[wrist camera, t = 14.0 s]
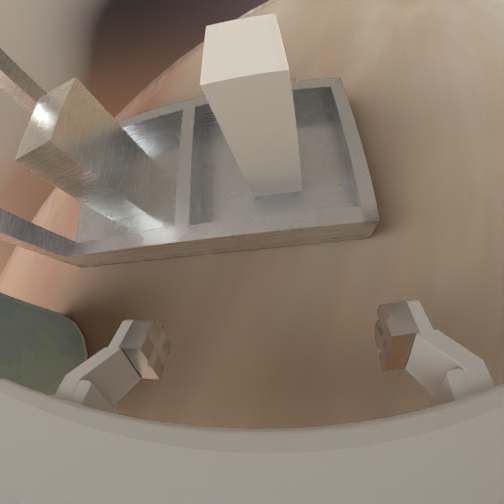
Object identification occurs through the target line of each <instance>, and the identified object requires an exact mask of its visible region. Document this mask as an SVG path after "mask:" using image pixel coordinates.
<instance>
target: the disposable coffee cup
mask: <svg viewBox="0 0 504 504" xmlns="http://www.w3.org/2000/svg"><path fill="white" fill-rule="evenodd" d="M87 357H88V353H87V348H86V343H85V339H84V335H83V334H82V332H81V331H80V329H79V328H78V326H77V324H76V323H75V322H73V321H72V320H71V319H69V318H68V317H66V316H64V315H62V314H60V313H58V312H55V311H51V310H48V309H45V308H42V307H39V306H36V305H33V304H30V303H27V302H24V301H22V300H19V299H16V298H13V297H10V296H8V295H5V294H2V293H0V379H8V380H11V381H13V382H15V383H18V384H20V385H23V386H25V387H28V388H31V389H33V390H36V391H39V392H42V393H45V394H47V395H52V394H54V393H56V392H57V390H58V388H59V386H60V384H61V383H62V381H63V379H64V377H65V375H67V374H68V373H69V372H71V371H72V370H74V369H75V368H76V367H78V366H79V365H81V364H82V363H83V362H85V361H86V360H87Z"/></svg>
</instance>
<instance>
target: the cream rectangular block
mask: <svg viewBox="0 0 504 504" xmlns="http://www.w3.org/2000/svg"><path fill="white" fill-rule="evenodd" d="M200 87H201V89H202V91H203V93H204V95H205V97H206V99H207V101H208V103H209V105H210V107H211V109H212V111H213V113H214V115H215V117H216V119H217V122H218V124H219V126H220V128H221V130H222V132H223V134H224V136H225V138H226V140H227V143H228V145H229V147H230V149H231V151H232V153H233V155H234V157H235V160H236V162H237V164H238V166H239V168H240V170H241V172H242V175H243V177H244V179H245V181H246V183H247V185H248V187H249V190H250V192H251V194H252V196H253V197H256V196H264V195H272V194H281V193H290V192H299V191H303V189H302V177H301V166H300V155H299V145H298V136H297V127H296V118H295V110H294V102H293V94H292V86H291V79H290V72H289V67H288V62H287V58H286V54H285V50H284V46H283V42H282V38H281V34H280V30H279V26H278V22H277V18H276V15H275V13H274V14H267V15H260V16H254V17H248V18H242V19H237V20H232V21H227V22H222V23H218V24H214V25H210V26H206V32H205V41H204V50H203V59H202V69H201V79H200Z"/></svg>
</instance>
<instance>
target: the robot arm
mask: <svg viewBox="0 0 504 504" xmlns="http://www.w3.org/2000/svg"><path fill="white" fill-rule="evenodd" d="M377 315H378V318H379V320H378V321H377V322H376V324H375V339H376V344H377V348H379V349H380V350H381V353H380V360H381V364H382V368H383V371H387V370H394V369H401V368H405V369H406V370H407V371H408V372H409V373H410V374H411V375H412V376H413V377H414V378H415V379H416V380H417V381H418V382H419V383H420V384H421V385H422V386H423V387H424V388H425V389H426V390H427V391H428V392H429V393H430V394H431V395H432V396H433V397H434V398H433V400H432V402H431V404H430V405H429V407H428V408H426V409H422V410H418V411H413V412H409V413H404V414H399V415H394V416H389V417H384V418H378V419H372V420H366V421H359V422H352V423H344V424H335V425H325V426H312V427H296V428H225V427H209V426H197V425H187V424H178V423H170V422H162V421H156V420H149V419H143V418H137V417H132V416H127V415H122V414H119V413H118V412H117V411H116V410H115V409H114V408H113V407H114V406H115V405H116V404H117V403H118V402H119V401H120V400H121V399H122V398H123V397H124V396H125V395H126V394H127V393H128V392H129V391H130V390H131V389H132V388H133V387H134V386H135V385H136V384H137V383H138V382H139V381H140V380H141V378H145V379H160V377H161V374H162V371H163V369H164V365H163V361H164V360H166V359H167V358H168V355H169V352H170V344H169V340H168V338H167V335H165V334H164V333H163V332H161V330H162V328H163V327H162V325H161V324H160V322H159V321H157V320H124V321H123V322H122V323H121V325H120V327H119V329H118V330H117V332H116V334H115V336H114V337H113V339H112V341H111V343H110V344H109V346H108V347H105V348H103V349H102V350H100V351H99V352H97V353H96V354H95V355H93V356H92V357H90V358H89V359H88V360H86V361H85V362H83V363H82V364H81V365H79V366H78V367H76V368H75V369H74V370H72V371H71V372H69V373H68V374H67V375H65V377H64V379H63V381H62V383H61V384H60V386H59V388H58V390H57V392H56V393H55V395H54V397H53V396H50V395H47V394H45V393H42V392H39V391H36V390H33V389H31V388H28V387H25V386H23V385H20V384H18V383H15V382H13V381H11V380H8V379H0V504H504V383H502V384H500V385H498V386H495V385H494V382H493V380H492V378H491V376H490V373H489V371H488V369H487V367H486V365H485V362H484V360H483V359H481V358H480V357H478V356H477V355H475V354H474V353H472V352H471V351H469V350H468V349H466V348H465V347H463V346H462V345H460V344H459V343H457V342H456V341H454V340H453V339H451V338H450V337H448V336H447V335H445V334H444V333H442V332H441V331H439V330H438V329H436V330H434V329H433V327H432V325H431V323H430V321H429V319H428V317H427V315H426V313H425V311H424V309H423V307H422V305H421V303H420V301H419V300H418V299H414V300H409V301H405V302H404V301H403V302H397V303H390V304H383V305H379V306H378V310H377Z"/></svg>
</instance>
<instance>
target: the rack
mask: <svg viewBox="0 0 504 504" xmlns="http://www.w3.org/2000/svg"><path fill="white" fill-rule="evenodd" d="M291 86H292V94H293V102H294V110H295V118H296V127H297V136H298V145H299V155H300V166H301V177H302V189H303V191H299V192H290V193H281V194H272V195H264V196H256V197H253V196H252V194H251V192H250V190H249V187H248V185H247V183H246V181H245V179H244V177H243V175H242V172H241V170H240V168H239V166H238V164H237V162H236V160H235V157H234V155H233V153H232V151H231V149H230V147H229V145H228V143H227V140H226V138H225V136H224V134H223V132H222V130H221V128H220V126H219V124H218V122H217V119H216V117H215V115H214V113H213V111H212V109H211V107H210V105H209V103H208V101H207V99H206V97H205V96H203V97H199V98H194V99H190V100H186V101H183V102H179V103H175V104H171V105H168V106H164V107H161V108H158V109H154V110H151V111H148V112H145V113H141V114H138V115H135V116H132V117H129V118H127V119H124V120H121V121H118V122H116V121H115V119H114V118H113V117H112V116H111V115H110V114H109V113H108V112H107V111H106V110H105V109H104V108H103V106H101V104H100V103H99V102H98V101H97V100H96V99H95V98H94V97H93V96H92V95H91V93H90V92H89V91H88V90H87V89H86V88H85V87H84V86H83V85H82V84H81V83H80V81H79V80H77V78H76V77H75V78H73V79H71V80H69V81H68V82H66V83H64V84H62V85H61V86H59V87H57V88H56V89H54V90H52V91H51V92H49V93H46V92H45V91H44V90H43V89H42V88H41V87H40V86H39V85H38V84H37V83H35V81H34V80H32V79H31V78H30V77H29V76H28V75H27V74H26V73H25V72H24V71H23V70H22V69H21V68H20V67H19V66H18V65H17V64H16V63H15V62H13V60H12V59H11V58H10V57H9V56H7V54H6V53H5V52H4V51H2V49H0V88H1V89H2V90H3V91H5V92H6V93H7V94H8V95H9V96H10V97H11V98H13V99H14V100H15V101H16V102H17V103H18V104H20V105H21V106H22V107H23V108H24V109H26V110H27V111H28V112H29V113H31V114H32V117H31V119H30V121H29V123H28V126H27V128H26V131H25V133H24V136H23V139H22V141H21V144H20V147H19V149H18V152H17V155H16V158H15V161H17V162H18V163H20V164H21V165H23V166H24V167H26V168H28V169H29V170H31V171H32V172H34V173H35V174H37V175H39V176H40V177H42V178H43V179H45V180H46V181H48V182H50V183H51V184H53V185H55V186H56V187H58V188H59V189H61V190H63V191H64V192H66V193H67V194H69V195H71V196H72V197H74V198H76V199H77V200H79V201H81V207H80V214H79V220H78V228H77V236H76V242H74V241H72V240H69V239H67V238H65V237H62V236H60V235H58V234H55V233H53V232H51V231H49V230H46V229H44V228H42V227H40V226H37V225H35V224H33V223H31V222H29V221H26V220H24V219H22V218H20V217H17V216H16V215H13V214H11V213H9V212H7V211H5V210H3V209H1V208H0V239H2V240H4V241H7V242H9V243H12V244H15V245H17V246H20V247H23V248H26V249H28V250H31V251H34V252H37V253H40V254H42V255H45V256H48V257H51V258H54V259H57V260H60V261H63V262H66V263H69V264H72V265H75V266H78V267H88V266H98V265H108V264H117V263H127V262H136V261H146V260H156V259H165V258H175V257H185V256H194V255H204V254H214V253H224V252H233V251H243V250H253V249H263V248H273V247H283V246H293V245H303V244H312V243H322V242H332V241H342V240H352V239H363V238H370V236H371V234H372V233H373V231H374V230H375V228H376V226H377V225H378V223H379V221H380V218H379V213H378V208H377V203H376V198H375V194H374V189H373V185H372V181H371V176H370V172H369V168H368V164H367V161H366V157H365V153H364V149H363V146H362V142H361V139H360V135H359V132H358V129H357V125H356V122H355V119H354V116H353V113H352V110H351V107H350V104H349V101H348V98H347V95H346V92H345V89H344V86H343V84H342V81H341V78H324V79H310V80H299V81H296V79H291Z"/></svg>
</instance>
